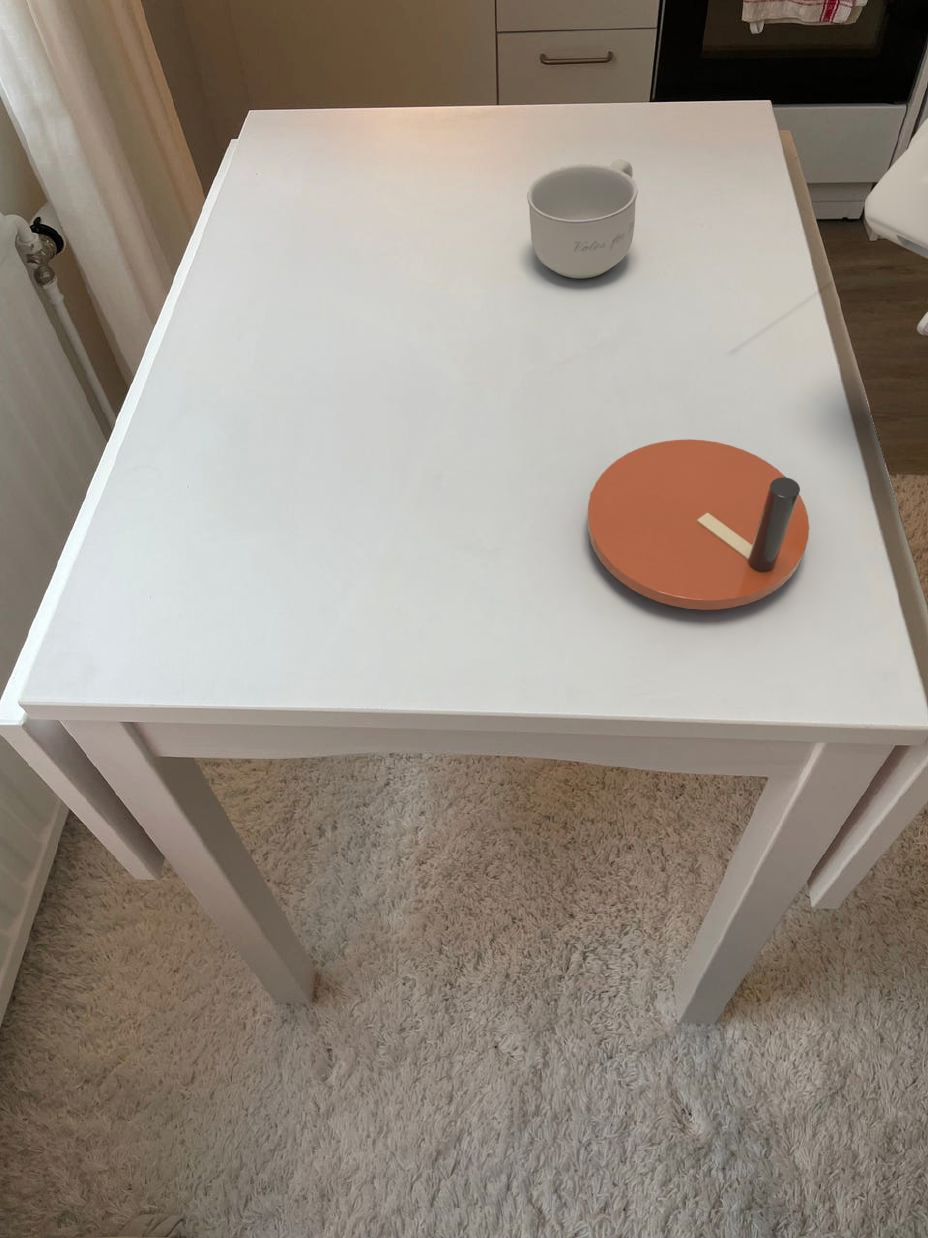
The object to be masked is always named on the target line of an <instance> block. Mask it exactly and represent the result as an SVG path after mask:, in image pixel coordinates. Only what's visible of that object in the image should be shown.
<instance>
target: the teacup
mask: <svg viewBox="0 0 928 1238" xmlns="http://www.w3.org/2000/svg"><path fill="white" fill-rule="evenodd" d="M633 176H634V171H633V167H632V164H631V163H630V162H629V161H628V160H625V159H616V160H614V161H613V162H612V163H611V164H610V165H609V166H607V165H603V164H592V163H591V164H590V163H589V164H588V163H586V164H585V163H583V164H582V163H581V164H573V165H568V166H563V167H559V168H556V169H553V170H550V171H548V172H546V173H544V174H542V175H540V176H539V177H538V178H536V180H535V181H533V183H531V185H530V186H529V188H528V191H527V193H526V199H527V204H528V209H529V212H528V213H529V228H530V236H531V237H530V238H531V243H532V248H533V251H534V253H535V255H536V257H537V258H538V260H539V261H540V262H541V263H542V264H543V265H544V266H545V267H547V268H548V269H550V270H552V271H554V272H555V273H556V274H558V275H560V276H564V277H567V278H570V279H589V278H594V277H597V276H600V275H602V274H604V273H606V272H608V271H609V270H611V268H613V267H615V266H616V265H617V264H619V263H620V262H621V261H622V260H623V259H624V258H625V257H626V255H627V254H628V253H629V250H630V249H631V246H632V243H633V238H634V231H635V220H636V200H637V197H638V193H639V191H638V185H637V183H636V181H635V180H634V179H633Z"/></svg>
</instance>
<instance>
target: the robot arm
mask: <svg viewBox="0 0 928 1238" xmlns="http://www.w3.org/2000/svg"><path fill="white" fill-rule="evenodd" d="M864 218H865V220H866V223H867V224H868V226H869V227H870V228H871V230H872V231H873V232H874V233H875V234H876V235H877V236H879V237H882V238H884V239H886V240H888V241H891V242H892V243H895V244H897V245H898V246H901V247H903V248H905V249H906V250H909V251H910V252H913V253H915V254H916V255H919V256H921V257H923V258H925V259H927V260H928V117H927V118H926V119H925V120H924V121H923V123H922V124H921V126H920V127H919V128H918V130H917V131H916V133H915V134H914V135H913V136H912V138H911V140H910V142H909V144H908V147H907V149H906V150H905V151H903V153H902V154H901V155H900V156H899V157H898V158H897V160H895V162H894V163H893V164H892V165H891V166H890V167H889V169H888V170H887V171H886V172H885V173H884V175H882V177H881V178H880V180H879V181H878V182H877V184H876V185H875V186H874V187H873V189H872V190H871V191H870V193H869V194H868V196H867V197H866V198H865V201H864ZM916 326H917V327H916V331H917V332H918V334H919V335H921V336H923V337H925V338H927V339H928V311H926V313H925V314H924V315H923V317H922V318H921V320H920V321H918V324H917V325H916Z"/></svg>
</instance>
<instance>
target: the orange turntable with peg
mask: <svg viewBox="0 0 928 1238" xmlns="http://www.w3.org/2000/svg"><path fill="white" fill-rule="evenodd" d="M800 493H801V487H800V484H799V483H798V482H797V481H796V480H795V479H793V478H791V477H787V476H785V475H784V474H783V473H782V472H781V471H780V470H779V469H778V468H776V467H775V466H774V465H772V464H771V463H769V462H768V461H766V459H765V460H764V459H763V458H761V457H760V456H758V455H756V454H753V453H751V452H749V451H747V450H745V449H742V448H739V447H737V446H733V445H731V444H726V443H722V442H718V441H712V440H706V439H705V440H704V439H692V438H691V439H672V440H664V441H660V442H659V441H658V442H655V443H650V444H648V445H644V446H642V447H638V448H636V449H634V450H632V451H630V452H627V453H626V454H624V455H622V456H621V457H619V458H618V459H616V460H615V461H614V462H613V463H611V464H610V465H609V466H608V467H607V468H606V469H605V470H604V471H603V472H602V473H601V474H600V476H599V477H598V479H597V480H596V482H595V484H594V485H593V488H592V490H591V492H590V495H589V499H588V504H587V517H586V525H587V526H586V528H587V533H588V534H587V535H588V537H589V542H590V544H591V546H592V548H593V551H594V553H595V554H596V556H597V558H598V559H599V560H600V562H601V564H602V565H603V566H604V567H605V569H606V570H607V571H608V572H609V573H610V574H611V575H612V576H613V577H614V578H615V579H617V580H618V581H619V582H620V583H622V584H623V585H625V586H626V587H628V588H629V589H630V590H632V591H634V592H636V593H638V594H639V595H641V596H643V597H645V598H648V599H651V600H653V601H655V602H658V603H661V604H665V605H668V606H673V607H677V608H682V609H687V610H688V609H689V610H701V611H709V610H713V611H714V610H725V609H731V608H736V607H737V608H738V607H740V606H746V605H748V604H751V603H753V602H756V601H759V600H761V599H763V598H765V597H767V596H768V595H771V594H772V593H774V592H775V591H776V590H778V589H780V587H783V585H784V584H785V583H786V582H787V581H788V580H789V579H791V577H792V576H793V574H795V572H796V570H797V569H798V567H799V565H800V563H801V561H802V559H803V556H804V554H805V552H806V548H807V544H808V541H809V534H810V522H809V515H808V511H807V508H806V505H805V503H804V500H803V498H802V497H801V495H800Z"/></svg>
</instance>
